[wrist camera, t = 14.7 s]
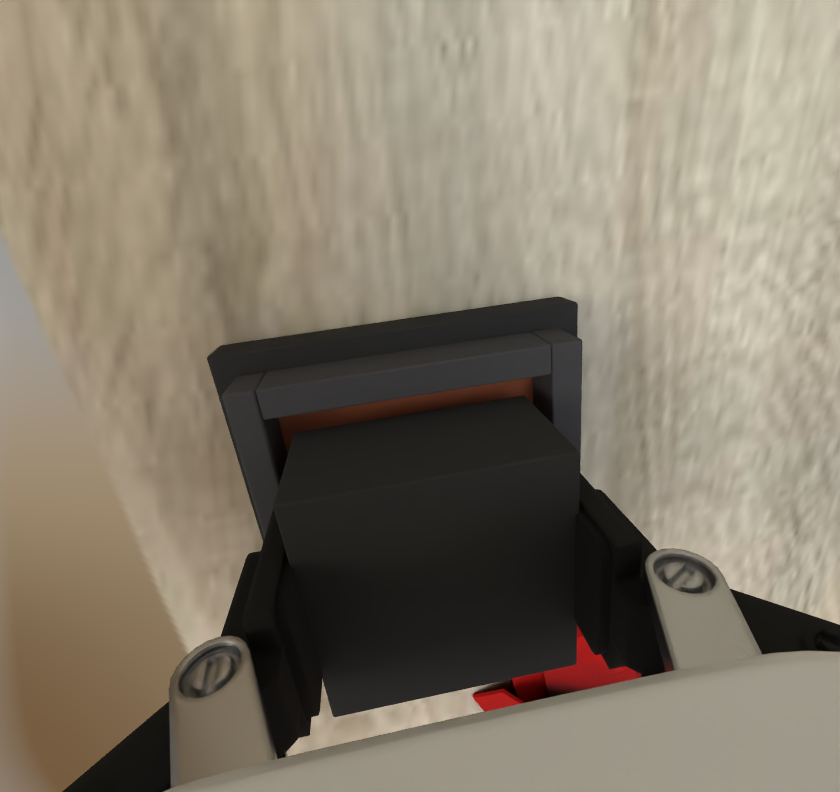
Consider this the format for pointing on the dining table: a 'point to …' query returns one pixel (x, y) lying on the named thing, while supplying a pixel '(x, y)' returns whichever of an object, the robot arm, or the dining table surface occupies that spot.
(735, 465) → the dining table surface
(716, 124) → the dining table surface
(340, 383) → the base pad
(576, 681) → the cloth
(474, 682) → the black pad
